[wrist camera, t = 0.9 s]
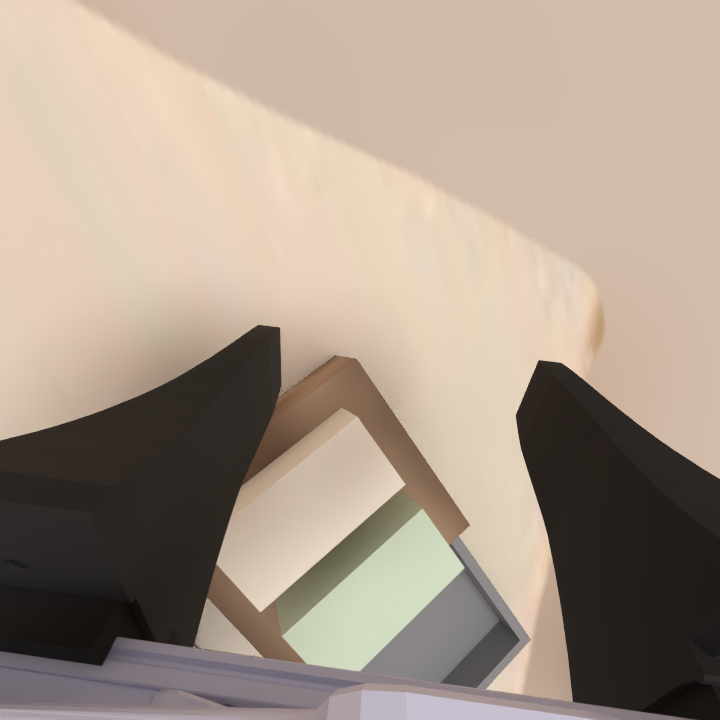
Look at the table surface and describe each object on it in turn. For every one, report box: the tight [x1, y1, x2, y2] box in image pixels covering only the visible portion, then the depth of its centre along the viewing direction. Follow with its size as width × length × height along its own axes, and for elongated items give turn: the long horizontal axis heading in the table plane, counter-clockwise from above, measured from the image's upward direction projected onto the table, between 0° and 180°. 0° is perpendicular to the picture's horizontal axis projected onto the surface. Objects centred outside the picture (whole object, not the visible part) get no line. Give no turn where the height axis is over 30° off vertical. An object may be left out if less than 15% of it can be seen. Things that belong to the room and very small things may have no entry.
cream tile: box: [216, 408, 406, 612], centre depth 19 cm, size 8×4×2 cm, turn 125°
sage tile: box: [275, 490, 465, 671], centre depth 20 cm, size 8×4×2 cm, turn 125°
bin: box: [360, 536, 531, 689], centre depth 26 cm, size 11×10×2 cm
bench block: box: [207, 356, 470, 664], centre depth 22 cm, size 12×12×4 cm
